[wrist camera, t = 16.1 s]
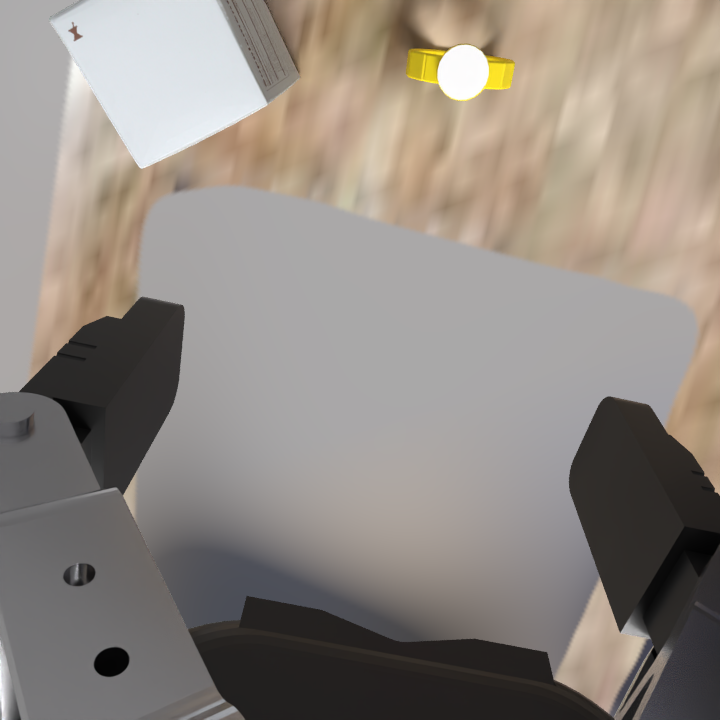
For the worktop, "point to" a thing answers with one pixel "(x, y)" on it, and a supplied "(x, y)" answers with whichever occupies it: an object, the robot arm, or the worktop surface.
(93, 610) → the robot arm
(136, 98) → the supplement box
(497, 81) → the watch
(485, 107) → the worktop surface
